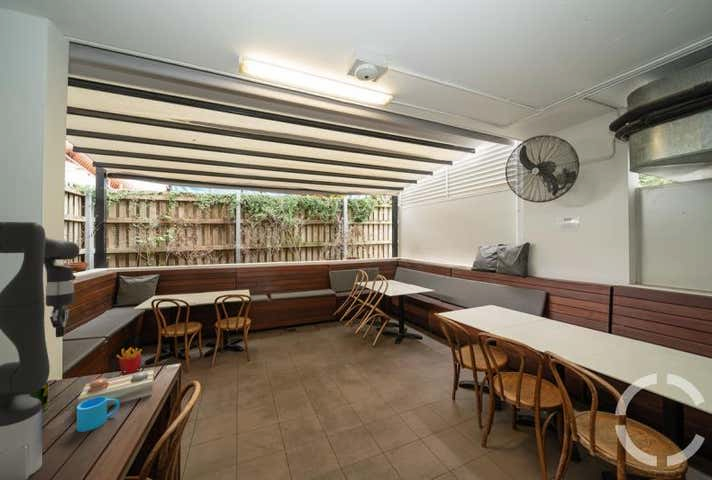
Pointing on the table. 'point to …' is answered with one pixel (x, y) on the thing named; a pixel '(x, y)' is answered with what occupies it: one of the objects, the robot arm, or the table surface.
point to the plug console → (121, 389)
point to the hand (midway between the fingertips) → (60, 336)
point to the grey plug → (139, 376)
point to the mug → (93, 413)
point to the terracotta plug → (98, 384)
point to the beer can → (42, 395)
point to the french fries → (130, 361)
